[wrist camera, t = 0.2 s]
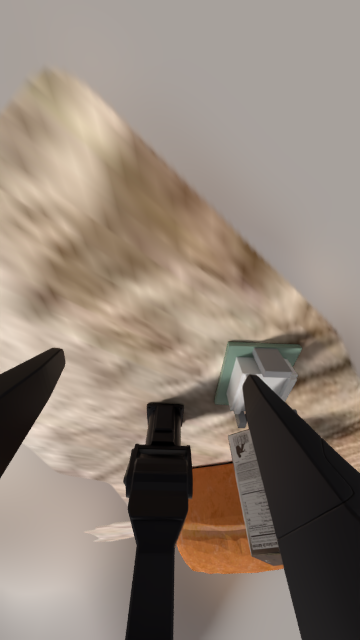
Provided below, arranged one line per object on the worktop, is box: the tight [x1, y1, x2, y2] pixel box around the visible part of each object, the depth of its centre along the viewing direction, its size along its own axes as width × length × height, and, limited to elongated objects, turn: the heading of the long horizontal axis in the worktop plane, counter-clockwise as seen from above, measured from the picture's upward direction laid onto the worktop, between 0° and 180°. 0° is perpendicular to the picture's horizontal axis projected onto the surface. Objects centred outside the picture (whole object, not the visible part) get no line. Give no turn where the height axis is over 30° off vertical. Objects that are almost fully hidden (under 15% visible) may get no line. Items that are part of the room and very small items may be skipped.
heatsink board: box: [214, 342, 302, 428], centre depth 28 cm, size 13×10×5 cm
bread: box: [177, 463, 284, 574], centre depth 43 cm, size 14×26×16 cm, turn 108°
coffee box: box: [228, 430, 283, 566], centre depth 34 cm, size 9×6×16 cm
